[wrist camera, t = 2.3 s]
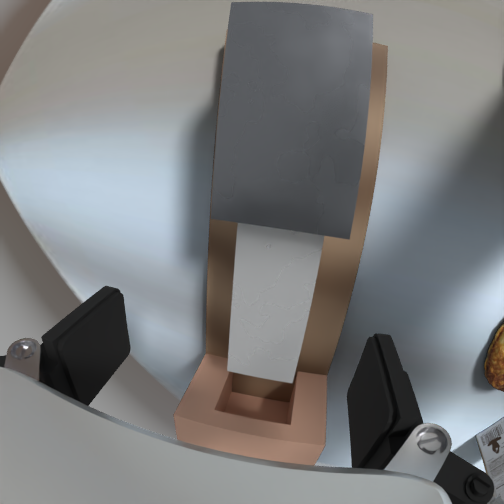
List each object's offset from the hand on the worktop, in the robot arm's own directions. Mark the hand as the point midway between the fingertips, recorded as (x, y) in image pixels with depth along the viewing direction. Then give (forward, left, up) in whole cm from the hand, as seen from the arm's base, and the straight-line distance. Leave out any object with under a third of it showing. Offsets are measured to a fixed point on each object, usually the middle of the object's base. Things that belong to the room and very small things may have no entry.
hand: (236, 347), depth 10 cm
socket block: (+12, +1, -10) cm, 16 cm away
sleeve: (-8, +1, -10) cm, 13 cm away
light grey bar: (-3, +1, -9) cm, 9 cm away
